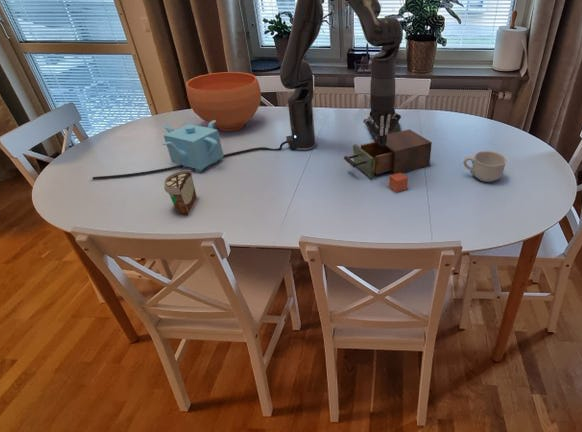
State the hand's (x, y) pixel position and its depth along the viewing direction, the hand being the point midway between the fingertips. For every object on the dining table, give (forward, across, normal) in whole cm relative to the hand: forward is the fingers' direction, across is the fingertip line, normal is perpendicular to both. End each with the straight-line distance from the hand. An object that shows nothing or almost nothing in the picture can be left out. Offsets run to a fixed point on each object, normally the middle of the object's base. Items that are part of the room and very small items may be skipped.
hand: (381, 144), depth 128 cm
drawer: (+13, -2, -10) cm, 16 cm away
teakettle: (+14, +53, -46) cm, 72 cm away
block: (+14, -3, +6) cm, 16 cm away
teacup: (+14, -33, +14) cm, 39 cm away
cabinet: (+14, -14, -10) cm, 22 cm away
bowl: (+14, +33, -78) cm, 86 cm away
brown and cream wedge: (+14, +62, -17) cm, 66 cm away
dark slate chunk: (+14, -24, -39) cm, 48 cm away
